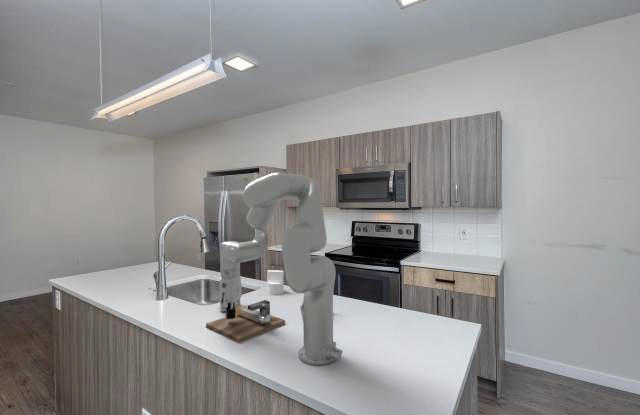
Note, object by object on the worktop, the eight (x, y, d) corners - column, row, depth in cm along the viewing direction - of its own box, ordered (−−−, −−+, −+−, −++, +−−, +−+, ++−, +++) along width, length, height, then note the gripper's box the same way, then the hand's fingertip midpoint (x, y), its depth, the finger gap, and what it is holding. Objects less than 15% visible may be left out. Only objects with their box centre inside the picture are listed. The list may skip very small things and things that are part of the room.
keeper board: (285, 323, 123) (284, 304, 123) (239, 343, 106) (238, 320, 106) (251, 311, 137) (251, 294, 137) (206, 327, 120) (205, 307, 120)
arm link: (272, 323, 119) (272, 304, 119) (263, 327, 115) (263, 307, 115) (243, 312, 131) (243, 295, 131) (234, 315, 128) (234, 297, 128)
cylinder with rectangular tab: (285, 290, 170) (285, 269, 170) (280, 295, 161) (280, 273, 161) (270, 289, 172) (270, 268, 172) (264, 294, 163) (264, 272, 163)
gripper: (230, 277, 113) (230, 326, 113) (246, 268, 128) (247, 312, 128) (211, 276, 114) (212, 324, 115) (230, 268, 129) (230, 311, 129)
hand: (230, 318), depth 121 cm, fingers closed
